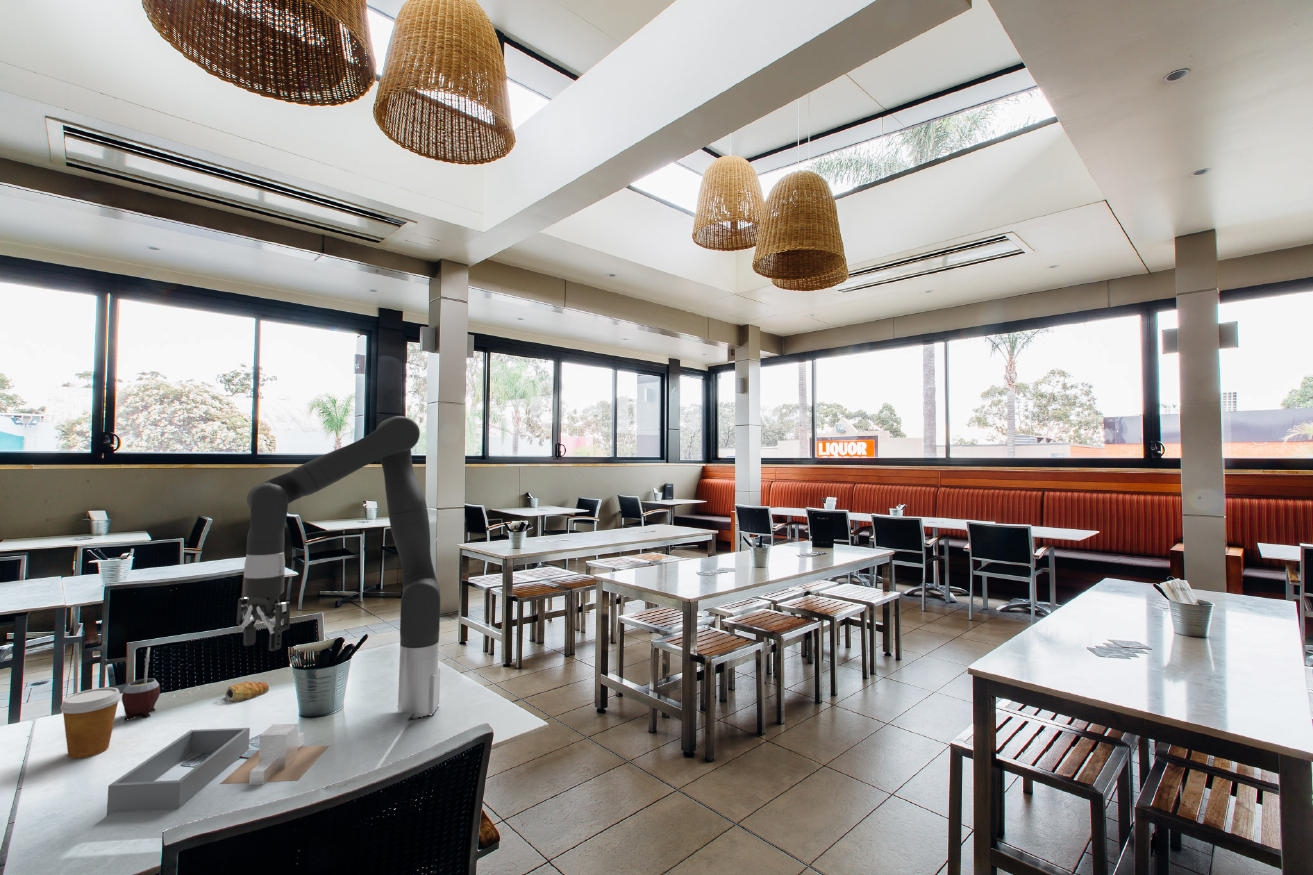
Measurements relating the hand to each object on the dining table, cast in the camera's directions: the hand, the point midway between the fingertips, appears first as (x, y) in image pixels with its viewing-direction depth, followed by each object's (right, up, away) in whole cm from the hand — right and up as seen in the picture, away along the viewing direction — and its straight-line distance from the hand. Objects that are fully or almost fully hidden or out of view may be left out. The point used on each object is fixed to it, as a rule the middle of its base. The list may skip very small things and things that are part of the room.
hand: (261, 647), depth 129 cm
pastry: (-23, -23, +28) cm, 43 cm away
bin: (-4, -21, -16) cm, 27 cm away
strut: (+10, -20, -10) cm, 25 cm away
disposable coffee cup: (-35, -22, -3) cm, 41 cm away
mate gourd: (-40, -22, +15) cm, 49 cm away
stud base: (+10, -22, -10) cm, 26 cm away
